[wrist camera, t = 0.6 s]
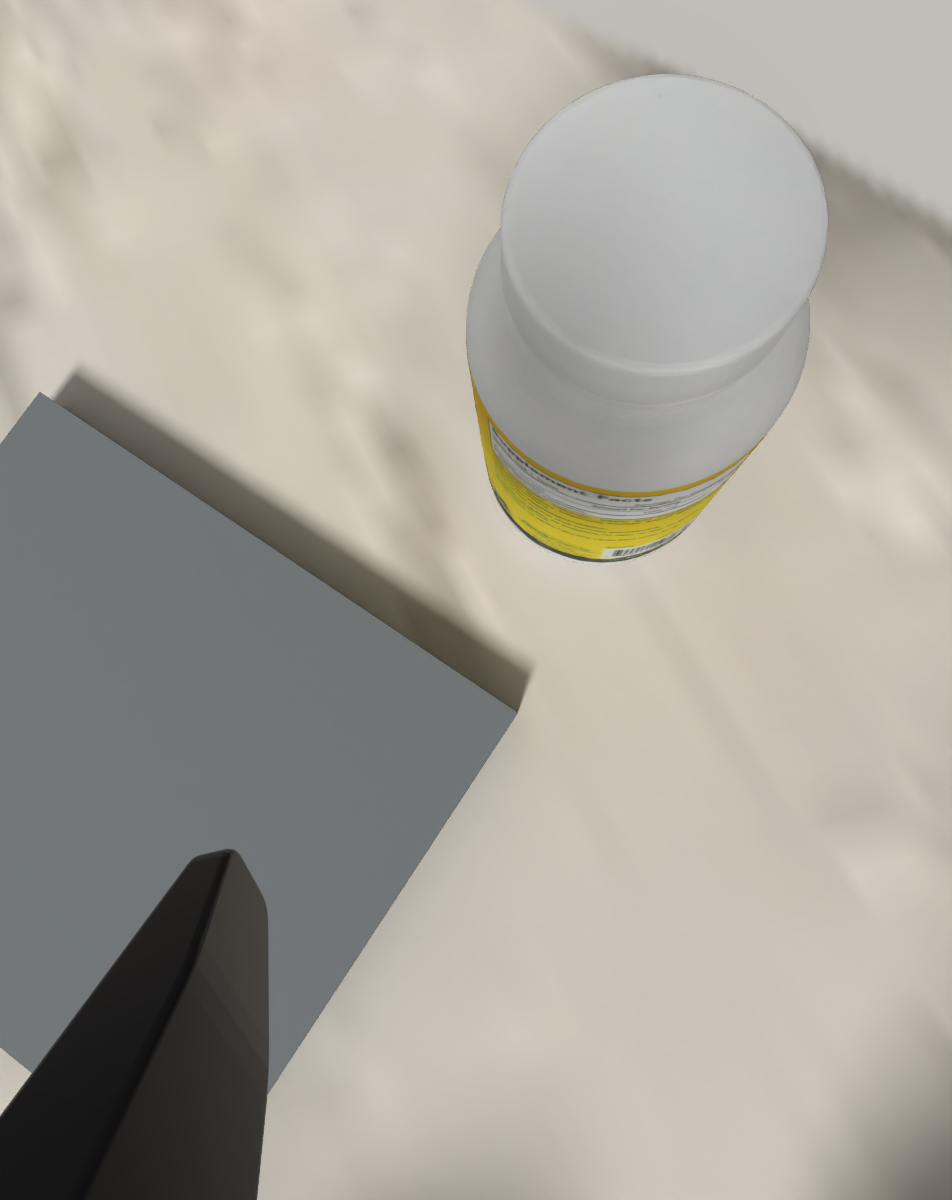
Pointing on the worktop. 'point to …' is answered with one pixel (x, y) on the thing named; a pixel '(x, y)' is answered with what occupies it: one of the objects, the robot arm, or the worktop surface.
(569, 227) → the pill bottle
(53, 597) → the mat
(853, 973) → the worktop surface
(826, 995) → the worktop surface
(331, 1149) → the worktop surface
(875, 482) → the worktop surface
